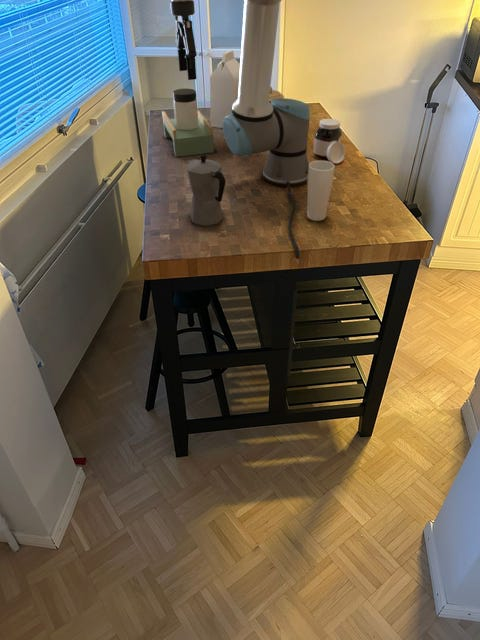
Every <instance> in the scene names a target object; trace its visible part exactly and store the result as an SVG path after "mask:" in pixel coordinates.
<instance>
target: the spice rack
mask: <svg viewBox="0 0 480 640" xmlns="http://www.w3.org/2000/svg"><path fill="white" fill-rule="evenodd" d="M197 110H198V125H199V127H198V128H196V129H193V130H189V131H187V130H178V129H177V127H176V125H175V117H174V118H170V117H169V116H168V114H167V113H166V111H165V110H162V111H161V115H162V116H161V117H162V124H163V134H164V138H165V139H172V144H173V145H172V146H173V153H174V154H173V155H174V157H175V158H178V157H186V156H194V155H204V154H210V153H214V152H215V145H214V127H212V126H211V125H210V122H209V121H208V120H207V118H206V117H205V116H204V114H203V113H202V112H201V111H200V110H199V109H198V108H197Z"/></svg>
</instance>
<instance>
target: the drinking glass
mask: <svg viewBox="0 0 480 640" xmlns="http://www.w3.org/2000/svg"><path fill="white" fill-rule="evenodd" d="M334 176H335V163H331V162H330V161H329V160H313V161H311V162H310V163H309V168H308V179H307V182H306V184H307V185H306V187H307V188H306V189H307V191H306V193H307V195H306V196H307V197H306V199H307V201H306V203H307V205H306V206H307V207H306V217H307V218H308V219H309V220H310V221H314V222H321V221H324V220H325V219H326V218H327V211H328V206H329V202H330V199H331V198H330V197H331V193H332V188H333V184H334V183H333V182H334V179H335V178H334Z"/></svg>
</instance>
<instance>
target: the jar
mask: <svg viewBox="0 0 480 640" xmlns="http://www.w3.org/2000/svg"><path fill="white" fill-rule="evenodd" d="M172 104H173V114H174V118H175V125H176V127H177V129H178V130H187V131H189V130H193V129H196V128H198V127H199V125H198V110H199V109H198V100H197V91H196V90H195V89H193V88H178V89H175V90H173V91H172ZM197 109H198V110H197Z"/></svg>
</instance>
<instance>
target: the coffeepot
mask: <svg viewBox="0 0 480 640" xmlns="http://www.w3.org/2000/svg"><path fill="white" fill-rule="evenodd" d="M199 157H200V159H196V158H195V159H190V160H187V162H188V164H186V165H185V169H186V173H187V178H188V182H189V186H190V190H191V192H192V197H191V205H190V215H189V216H190V219H191V221H192V223H193V224H195V225H197V226H201V227H210V226H215V225H217V224H219V223H220V222H221V221H222V220H223V219H224V216H223V211H222V206H221V202H222V200H223V196H224V191H225V187H226V178H225V175H224V174H223V172H222V165H221V164H220V162H219V161H216V160H211V159H207V155H206V154H199Z"/></svg>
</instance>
